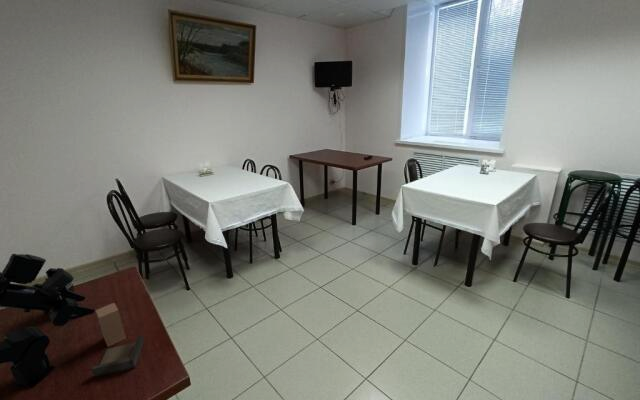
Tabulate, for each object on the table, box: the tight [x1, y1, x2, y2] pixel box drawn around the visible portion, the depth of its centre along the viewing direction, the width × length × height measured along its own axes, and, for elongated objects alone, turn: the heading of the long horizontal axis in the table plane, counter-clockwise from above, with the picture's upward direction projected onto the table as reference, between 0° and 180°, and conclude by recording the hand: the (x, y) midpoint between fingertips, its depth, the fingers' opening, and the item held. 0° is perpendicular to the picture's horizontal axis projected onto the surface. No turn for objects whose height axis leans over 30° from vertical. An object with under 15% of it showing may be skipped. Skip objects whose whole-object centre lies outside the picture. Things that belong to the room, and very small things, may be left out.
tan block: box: [95, 302, 127, 348], centre depth 93 cm, size 5×5×11 cm
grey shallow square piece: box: [91, 334, 144, 378], centre depth 87 cm, size 10×10×3 cm
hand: (89, 304), depth 89 cm, fingers open, 9 cm apart
